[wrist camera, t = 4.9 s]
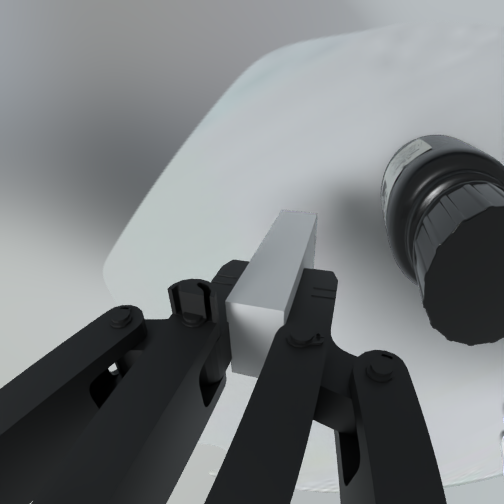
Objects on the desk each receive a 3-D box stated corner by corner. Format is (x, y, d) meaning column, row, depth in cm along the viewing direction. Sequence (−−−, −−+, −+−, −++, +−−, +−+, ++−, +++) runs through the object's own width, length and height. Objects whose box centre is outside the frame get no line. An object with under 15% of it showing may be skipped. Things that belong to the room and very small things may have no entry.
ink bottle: (377, 125, 19) (404, 158, 9) (490, 132, 17) (589, 176, 6) (378, 252, 24) (385, 369, 14) (479, 254, 21) (534, 360, 11)
